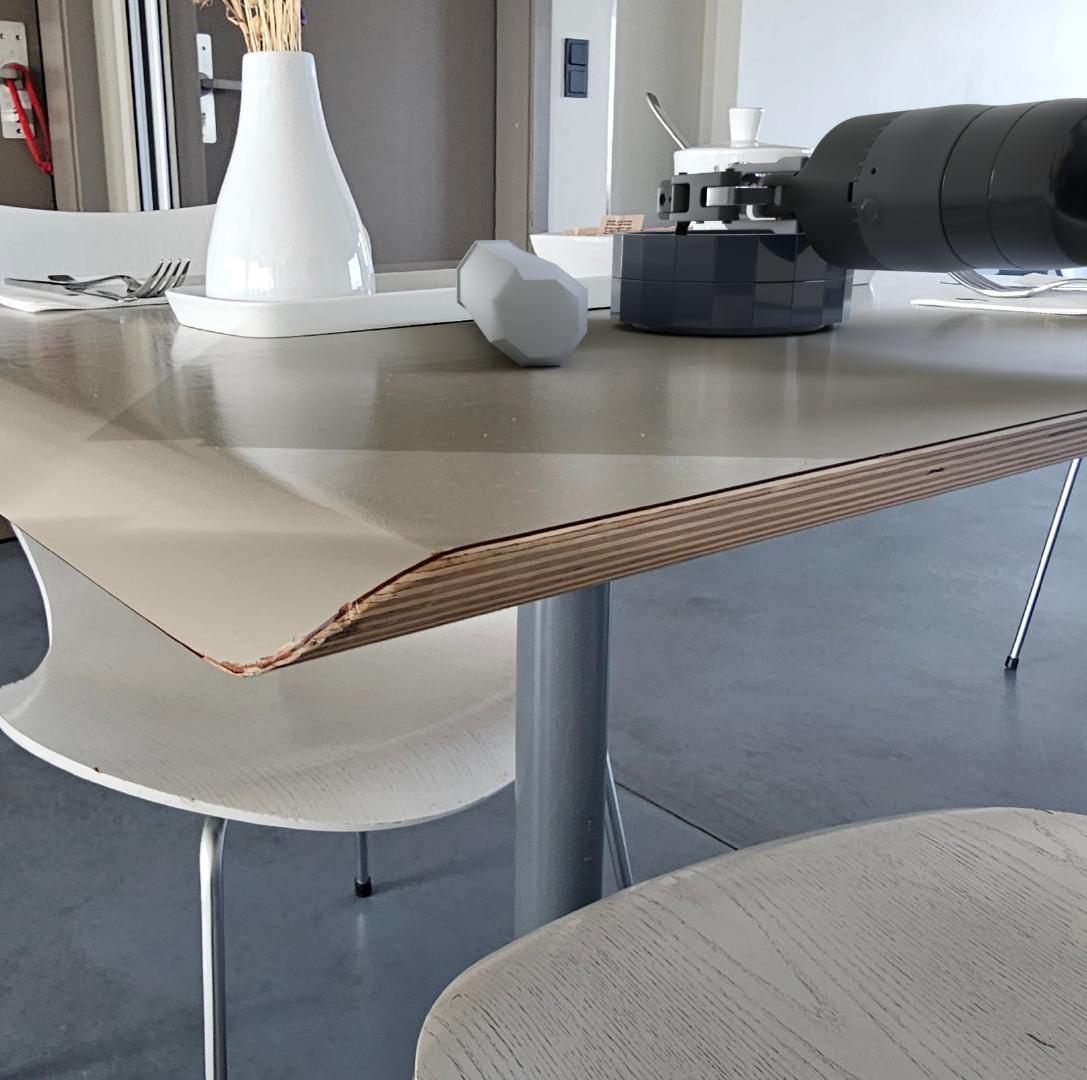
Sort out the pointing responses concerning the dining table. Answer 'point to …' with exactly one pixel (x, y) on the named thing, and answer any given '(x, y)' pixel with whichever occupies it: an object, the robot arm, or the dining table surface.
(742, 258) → the bowl
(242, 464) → the dining table surface
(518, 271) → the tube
